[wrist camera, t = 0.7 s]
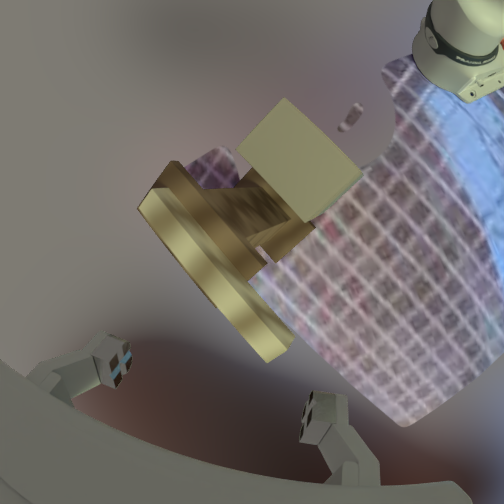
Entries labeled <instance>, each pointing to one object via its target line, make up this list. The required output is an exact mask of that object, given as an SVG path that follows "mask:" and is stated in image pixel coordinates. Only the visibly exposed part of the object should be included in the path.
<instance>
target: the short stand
mask: <svg viewBox="0 0 504 504" xmlns="http://www.w3.org/2000/svg"><path fill="white" fill-rule="evenodd" d="M154 188H169V189H170V190H171V191H172V193H173V194H174V195H175V196H176V197H177V199H178V200H179V201H180V202H181V204H182V205H183V206H184V207H185V208H186V210H187V211H188V212H189V213H190V214H191V216H192V217H193V218H194V219H195V220H196V222H197V223H198V224H199V225H200V226H201V227H202V229H203V230H204V231H205V232H206V233H207V235H208V236H209V237H210V238H211V239H212V241H213V242H214V243H215V244H216V245H217V246H218V248H219V249H220V250H221V251H222V252H223V254H224V255H225V256H226V257H227V258H228V259H229V261H230V262H231V263H232V264H233V265H234V266H235V268H236V269H237V270H238V271H239V272H240V273H241V275H242V276H243V277H244V278H245V279H246V280H247V281H248V280H249V279H251V278H252V277H253V276H254V275H255V274H256V273H257V272H258V271H260V270H261V269H262V268H263V267H264V266H265V265H266V264H267V262H266V261H265V260H264V259H263V257H262V256H261V255H260V254H259V253H258V252H257V251H256V249H255V248H256V247H258V246H259V245H260V246H261V247H262V248H263V249H264V251H265V252H266V253H267V254H268V255H269V256H270V257H271V259H272V260H273V261H274V262H275V263H277V262H278V261H279V260H280V259H281V258H282V257H284V256H285V255H286V254H287V253H288V252H289V251H290V250H291V249H293V248H294V247H295V246H296V245H297V244H298V243H299V242H300V241H301V240H303V239H304V238H305V237H306V236H307V235H308V234H309V233H310V232H311V231H312V230H314V229H315V228H316V227H315V226H314V225H313V224H312V223H311V221H308V222H306V223H304V221H303V220H302V219H301V218H300V217H299V216H298V215H297V214H296V213H295V212H294V210H293V209H292V208H291V207H290V206H289V205H288V204H287V203H286V202H285V201H284V200H283V198H282V197H281V196H280V195H279V194H278V193H277V192H276V191H275V190H274V189H273V188H272V187H271V186H270V185H269V184H268V182H267V181H266V180H265V179H264V178H263V177H262V176H261V175H260V174H259V173H258V172H257V171H256V170H255V169H254V168H253V167H252V168H251V169H250V170H249V172H248V173H247V174H246V175H245V176H244V177H243V178H242V179H241V180H240V181H239V182H238V183H237V185H236V186H235V187H234V188H222V189H202V188H201V186H200V185H199V184H198V183H197V182H196V181H195V180H194V178H193V177H192V176H191V175H190V174H189V173H188V172H187V170H186V169H185V168H184V167H183V166H182V165H181V164H180V162H179V161H170V162H169V164H168V165H167V166H166V168H165V169H164V171H163V172H162V173H161V175H160V176H159V178H158V179H157V180H156V182H155V183H154V184H153V186H152V187H151V189H154ZM151 189H150V190H149V192H150V191H151ZM149 192H148V193H149ZM148 193H147V194H146V196H147V195H148ZM146 196H145V197H144V199H145V198H146ZM144 199H143V200H142V202H143V201H144ZM142 202H141V203H140V205H141V204H142ZM140 205H139V206H138V208H137V209H138V211H139V212H140V214H141V215H142V216H143V218H144V219H145V220H146V222H147V223H148V224H149V226H150V227H151V228H152V230H153V231H154V232H155V233H156V235H157V236H158V237H159V239H160V240H161V241H162V242H163V244H164V245H165V246H166V248H167V249H168V250H169V251H170V253H171V254H172V255H173V256H174V258H175V259H176V260H177V261H178V263H179V264H180V265H181V267H182V268H183V269H184V270H185V272H186V273H187V274H188V275H189V277H190V278H191V279H192V280H193V281H194V283H195V284H196V285H197V286H198V287H199V289H200V290H201V291H202V292H203V294H204V295H205V296H206V297H207V298H208V300H209V301H210V302H211V303H212V304H213V305H214V307H215V308H217V306H216V305H215V304H214V302H213V301H212V300H211V299H210V298H209V296H208V295H207V294H206V293H205V292H204V290H203V289H202V288H201V287H200V286H199V284H198V283H197V282H196V281H195V280H194V278H193V277H192V276H191V275H190V273H189V272H188V271H187V270H186V269H185V267H184V266H183V265H182V264H181V262H180V261H179V260H178V259H177V257H176V256H175V255H174V254H173V252H172V251H171V250H170V248H169V247H168V246H167V245H166V243H165V242H164V241H163V239H162V238H161V237H160V236H159V234H158V233H157V232H156V230H155V229H154V228H153V227H152V225H151V224H150V223H149V221H148V220H147V219H146V217H145V216H144V215H143V213H142V212H141V211H140V209H139V207H140Z"/></svg>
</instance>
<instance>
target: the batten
mask: <svg viewBox="0 0 504 504" xmlns="http://www.w3.org/2000/svg"><path fill="white" fill-rule="evenodd" d="M139 209H140V211H141V212H142V213H143V215H144V216H145V217H146V219H147V220H148V221H149V223H150V224H151V225H152V227H153V228H154V229H155V230H156V232H157V233H158V234H159V236H160V237H161V238H162V239H163V241H164V242H165V243H166V245H167V246H168V247H169V248H170V250H171V251H172V252H173V254H174V255H175V256H176V257H177V259H178V260H179V261H180V262H181V264H182V265H183V266H184V267H185V269H186V270H187V271H188V272H189V273H190V275H191V276H192V277H193V278H194V280H195V281H196V282H197V283H198V284H199V286H200V287H201V288H202V289H203V290H204V292H205V293H206V294H207V295H208V296H209V298H210V299H211V300H212V301H213V302H214V304H215V305H216V306H217V307H218V308H219V309H220V311H221V312H222V313H223V314H224V315H225V317H226V318H227V319H228V320H229V321H230V322H231V323H232V325H233V326H234V327H235V328H236V329H237V330H238V332H239V333H240V334H241V335H242V336H243V337H244V338H245V339H246V341H247V342H248V343H249V344H250V345H251V346H252V347H253V348H254V349H255V351H256V352H257V353H258V354H259V355H260V356H261V357H262V358H263V359H264V361H265V362H266V363H268V362H270V361H271V360H273V359H274V358H276V357H277V356H279V355H280V354H282V353H284V352H285V351H286V350H287V349H288V348H289V347H290V345H291V343H292V341H293V340H294V338H295V335H294V334H293V333H292V332H291V331H290V330H289V329H288V328H287V326H286V325H285V324H284V323H283V322H282V321H281V320H280V318H279V317H278V316H277V315H276V314H275V313H274V312H273V310H272V309H271V308H270V307H269V306H268V305H267V304H266V302H265V301H264V300H263V299H262V298H261V297H260V296H259V294H258V293H257V292H256V291H255V290H254V289H253V287H252V286H251V285H250V284H249V283H248V282H247V280H246V279H245V278H244V277H243V276H242V275H241V273H240V272H239V271H238V270H237V269H236V268H235V266H234V265H233V264H232V263H231V262H230V261H229V259H228V258H227V257H226V256H225V255H224V254H223V252H222V251H221V250H220V249H219V248H218V246H217V245H216V244H215V243H214V242H213V241H212V239H211V238H210V237H209V236H208V235H207V233H206V232H205V231H204V230H203V229H202V227H201V226H200V225H199V224H198V223H197V222H196V220H195V219H194V218H193V217H192V216H191V214H190V213H189V212H188V211H187V210H186V208H185V207H184V206H183V205H182V204H181V202H180V201H179V200H178V199H177V197H176V196H175V195H174V194H173V193H172V191H171V190H170V189H169V188H154V189H151V191H150V192H149V193H148V195H147V196H146V198H145V199H144V201H143V202H142V204H141V205H140V207H139Z"/></svg>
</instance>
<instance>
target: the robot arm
mask: <svg viewBox="0 0 504 504" xmlns="http://www.w3.org/2000/svg"><path fill="white" fill-rule="evenodd" d="M412 53H413V57H414V60H415V62H416V65H417V66H418V68H419V70H420V71H421V72H422V73H423V75H424V76H425V77H426V78H427V79H428V80H430V81H431V82H432V83H433V84H435V85H436V86H438V87H440V88H442V89H444V90H447V91H449V92H452V93H454V94H455V95H456V96H457V97H459V98H460V99H461V100H462V101H464V102H465V103H468V104H469V103H472V102H474V101H476V100H478V99H480V98H482V97H484V96H486V95H488V94H490V93H492V92H494V91H496V90H498V89H500V88H502V87H504V0H433V1H432V2H431V4H430V5H429V7H428V11H427V15H426V17H424V18H423V19H422V21H421V27H420V31H419V32H418V34H417V35H416V37H415V38H414V41H413V45H412ZM470 93H472V94H473V96H471V95H470ZM129 349H130V342H128V341H126V340H123V339H121V338H118V337H116V336H114V335H111V334H108V333H106V332H104V331H99V332H98V333H97V334H96V335H95V336H94V337H93V339H91V341H90V342H89V343H88V344H87V345H86V346H85V347H84V348H83V349H82V350H81V351H80V350H76V351H74V352H71V353H67V354H64V355H61V356H59V357H55V358H52V359H49V360H46V361H43V362H40V363H39V364H38V365H37V366H36V367H35V368H34V369H33V370H32V371H31V372H30V373H29V374H28V375H27V376H26V377H24V376H22V375H21V374H19V373H18V372H17V371H15V370H14V369H12V368H11V367H10V366H8V365H7V364H6V363H4V362H3V361H2V360H1V359H0V504H473V503H472V500H471V499H470V498H469V496H468V495H467V494H466V493H465V492H464V491H463V490H462V489H461V488H460V487H459V486H458V485H457V484H455V483H454V482H452V481H442V482H435V483H425V484H414V485H397V486H380V466H379V461H378V460H377V459H376V457H375V456H374V455H373V453H372V452H371V451H370V449H369V448H368V447H367V446H366V444H365V443H364V441H363V440H362V439H361V438H360V436H359V435H358V433H357V432H356V431H355V429H354V428H353V427H352V426H350V425H348V399H347V396H346V395H341V394H334V393H327V392H321V391H314V390H313V391H312V392H311V393H310V395H309V401H307V402H306V404H305V407H304V410H303V415H302V423H303V426H302V428H301V431H300V439H299V442H302V443H308V444H314V445H318V447H319V449H320V451H321V453H322V455H323V457H324V459H325V461H326V462H327V464H328V466H329V468H330V470H331V472H332V474H333V475H332V476H331V477H330V478H329V479H328V480H327V481H326V482H325V483H324V484H317V483H308V482H299V481H292V480H285V479H278V478H272V477H266V476H261V475H255V474H251V473H246V472H242V471H237V470H233V469H229V468H225V467H221V466H217V465H213V464H210V463H206V462H203V461H199V460H196V459H193V458H190V457H187V456H183V455H180V454H177V453H174V452H171V451H169V450H166V449H163V448H160V447H157V446H155V445H152V444H150V443H147V442H144V441H142V440H140V439H137V438H135V437H133V436H130V435H128V434H126V433H123V432H121V431H119V430H117V429H114V428H112V427H110V426H108V425H106V424H104V423H102V422H100V421H98V420H96V419H94V418H92V417H90V416H88V415H86V414H84V413H82V412H80V411H78V410H77V409H75V407H74V405H73V403H72V401H71V399H72V398H74V397H75V396H78V395H79V394H81V393H83V392H85V391H87V390H89V389H91V388H93V387H95V386H97V385H99V384H100V383H102V384H105V385H107V386H109V387H112V388H114V389H116V388H117V387H118V385H119V384H120V382H121V381H122V375H123V374H126V373H127V372H128V371H129V369H130V367H131V364H132V355H131V353H130V352H129Z"/></svg>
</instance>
